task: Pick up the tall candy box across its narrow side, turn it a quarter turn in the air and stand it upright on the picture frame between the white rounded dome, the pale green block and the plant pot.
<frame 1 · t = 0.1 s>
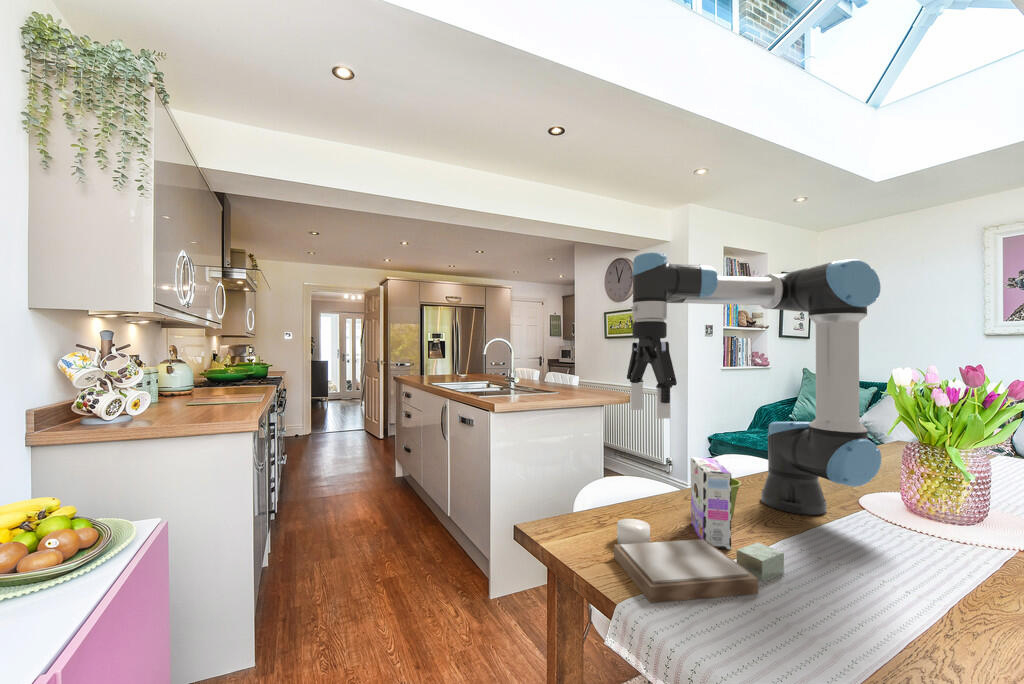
hand: (649, 413, 99), 28 cm above the table, fingers open, 13 cm apart
candy box: (709, 536, 99), on the table
white rounded dome: (633, 543, 95), on the table
plant pot: (720, 514, 112), on the table
picture frame: (680, 574, 82), on the table
pale green block: (760, 572, 83), on the table
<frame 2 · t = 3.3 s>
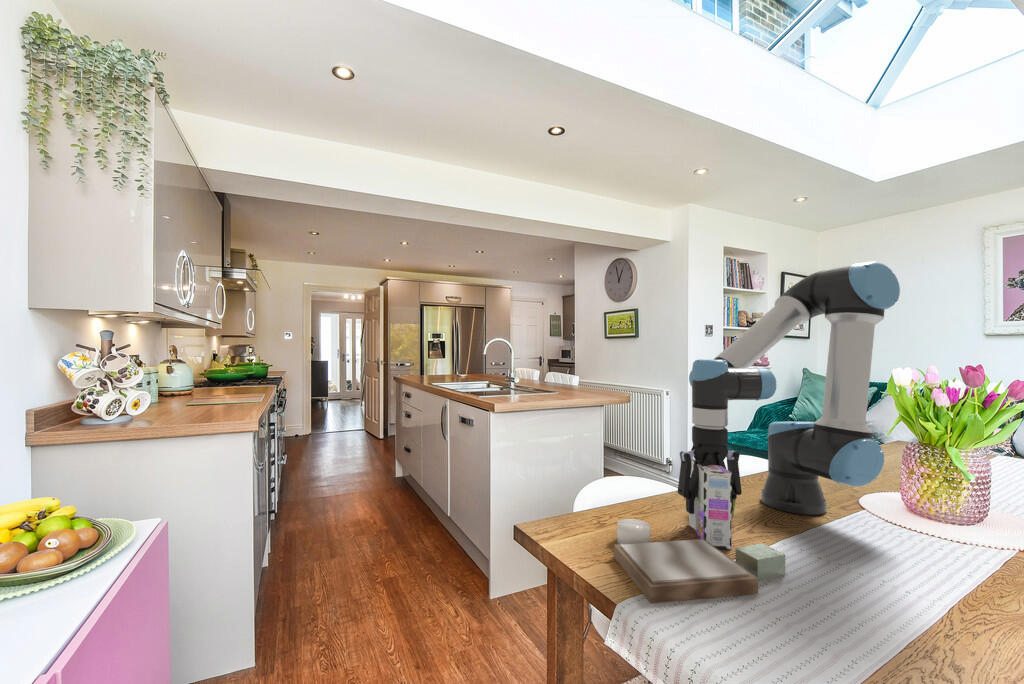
hand: (709, 526, 99), 2 cm above the table, fingers closed on candy box, 7 cm apart
candy box: (709, 536, 99), on the table, touching gripper
everything else where it was.
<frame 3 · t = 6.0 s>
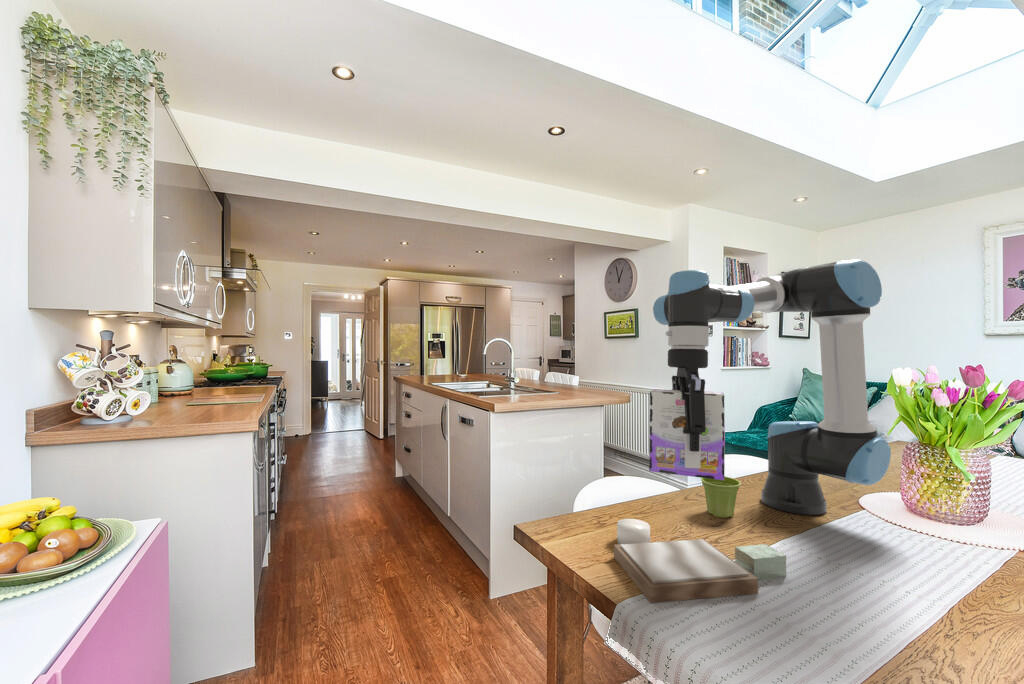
hand: (686, 462, 86), 20 cm above the table, fingers closed on candy box, 7 cm apart
candy box: (686, 473, 86), point 18 cm above the table, touching gripper
everything else where it was.
when the fingers open (6 cm above the table, at t = 9.2 s): candy box drops 1 cm, resting on picture frame.
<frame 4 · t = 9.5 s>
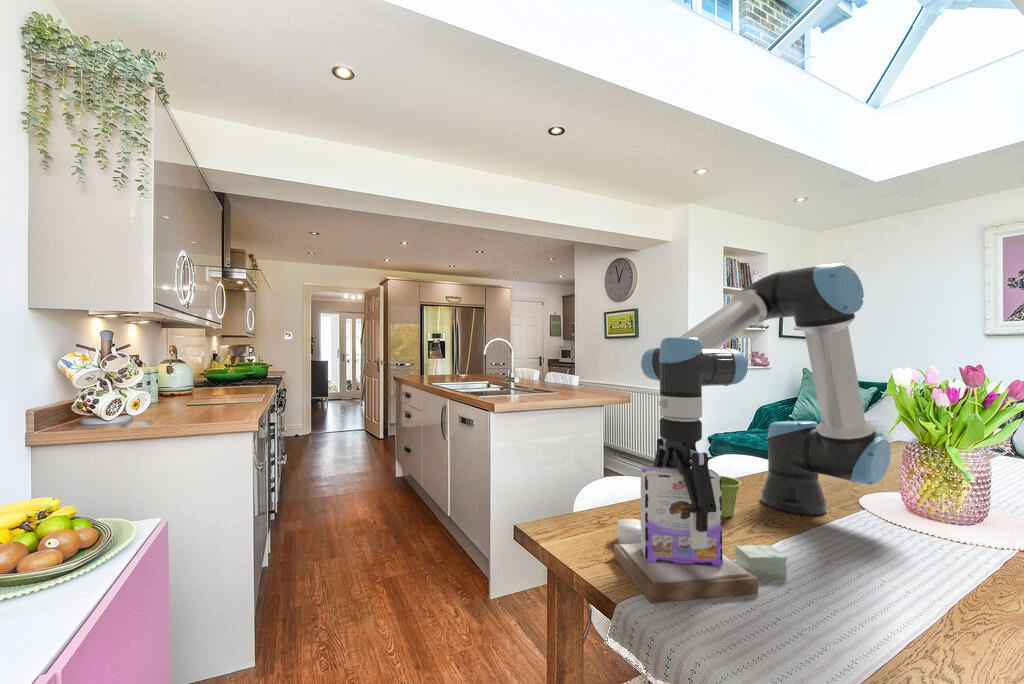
hand: (680, 533, 82), 8 cm above the table, fingers open, 11 cm apart
candy box: (679, 558, 82), point 3 cm above the table, touching picture frame
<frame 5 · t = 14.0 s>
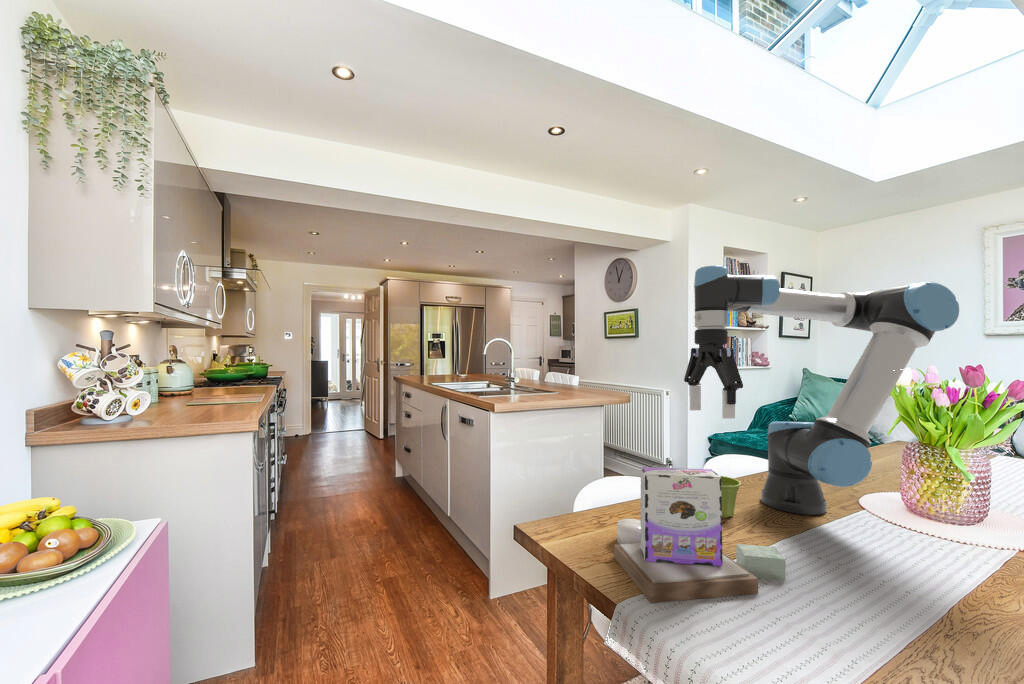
hand: (710, 414, 107), 27 cm above the table, fingers open, 13 cm apart
at the end: candy box inside the target area on the picture frame (0.2 cm from its centre), point 2.8 cm above the picture frame's base; candy box tilted 0°; the gripper is holding nothing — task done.
